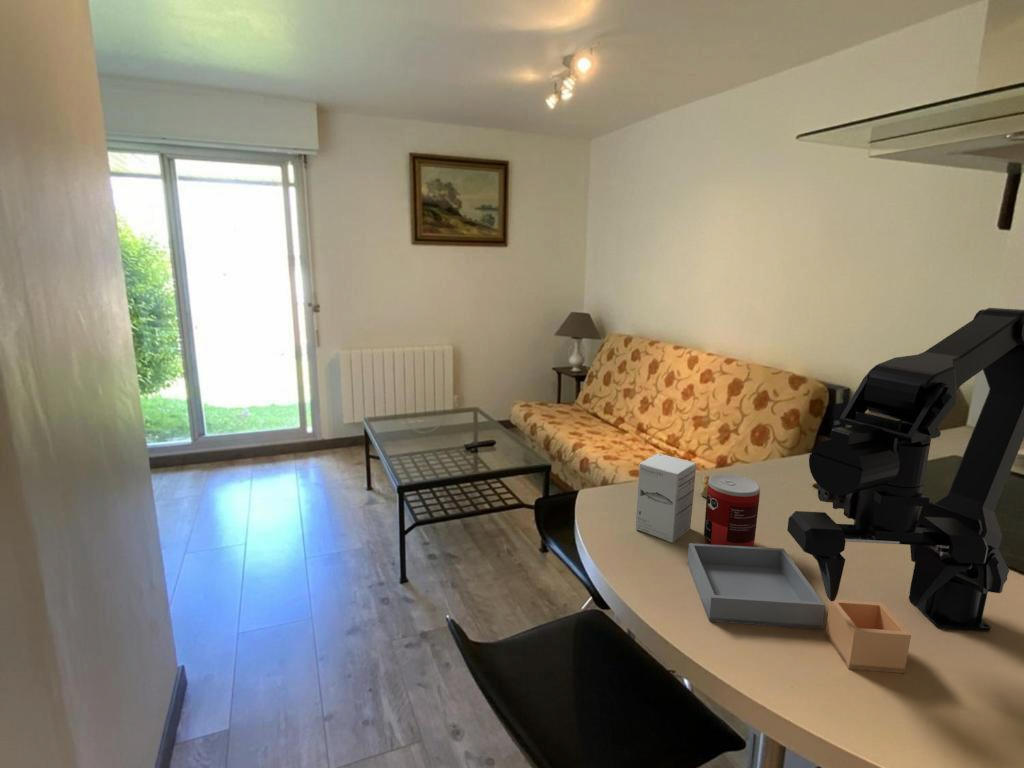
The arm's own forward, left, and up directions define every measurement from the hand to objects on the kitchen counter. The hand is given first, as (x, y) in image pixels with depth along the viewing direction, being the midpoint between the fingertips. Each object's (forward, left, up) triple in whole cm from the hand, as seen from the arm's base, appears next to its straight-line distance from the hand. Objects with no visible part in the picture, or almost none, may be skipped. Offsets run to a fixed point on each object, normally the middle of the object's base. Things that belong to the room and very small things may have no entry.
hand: (871, 601), depth 64 cm
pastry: (+5, -45, -7) cm, 46 cm away
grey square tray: (+10, -11, -7) cm, 16 cm away
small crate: (0, 0, -7) cm, 7 cm away
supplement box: (+19, -29, -7) cm, 35 cm away
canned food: (+9, -25, -7) cm, 27 cm away
